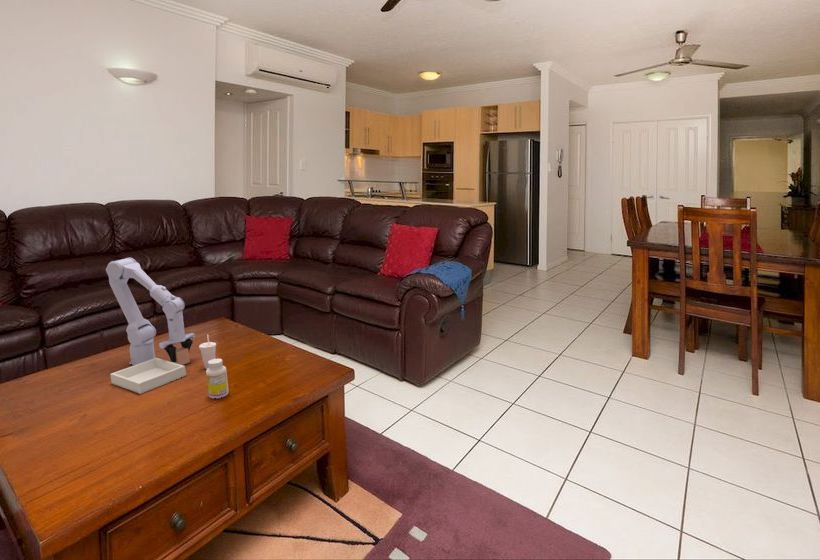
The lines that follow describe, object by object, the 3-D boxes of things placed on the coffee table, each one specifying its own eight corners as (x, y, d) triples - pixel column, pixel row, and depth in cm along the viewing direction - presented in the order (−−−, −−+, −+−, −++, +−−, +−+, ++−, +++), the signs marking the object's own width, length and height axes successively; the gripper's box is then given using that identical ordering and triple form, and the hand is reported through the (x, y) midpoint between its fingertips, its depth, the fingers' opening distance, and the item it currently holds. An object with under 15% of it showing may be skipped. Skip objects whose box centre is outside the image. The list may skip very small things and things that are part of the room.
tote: (111, 383, 171) (110, 373, 170) (157, 366, 186) (156, 357, 185) (140, 394, 162) (138, 383, 161) (186, 375, 177) (185, 366, 177)
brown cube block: (170, 364, 187) (169, 350, 186) (182, 360, 191) (180, 346, 190) (178, 366, 185) (177, 352, 184) (189, 362, 189) (188, 348, 188)
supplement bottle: (212, 391, 164) (208, 357, 162) (231, 390, 165) (227, 356, 162) (205, 399, 158) (201, 365, 155) (225, 398, 158) (221, 364, 156)
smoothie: (212, 370, 182) (208, 337, 179) (197, 369, 183) (194, 336, 180) (221, 364, 188) (218, 332, 185) (207, 363, 189) (204, 331, 186)
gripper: (165, 334, 177) (169, 367, 180) (198, 324, 189) (201, 355, 192) (154, 331, 180) (158, 364, 183) (187, 322, 193) (190, 352, 195)
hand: (179, 359), depth 188 cm, fingers closed on brown cube block, 5 cm apart
